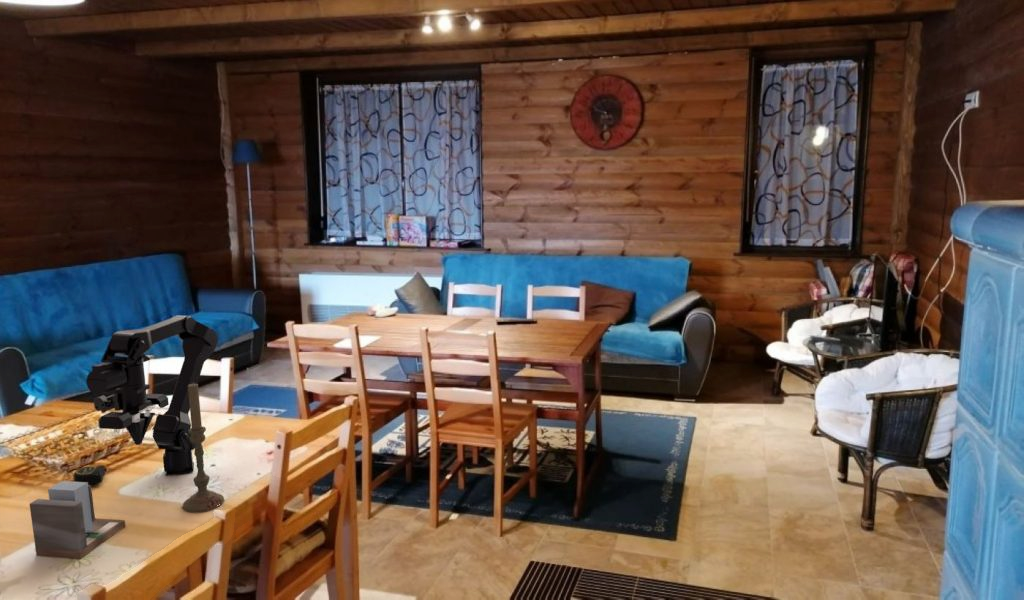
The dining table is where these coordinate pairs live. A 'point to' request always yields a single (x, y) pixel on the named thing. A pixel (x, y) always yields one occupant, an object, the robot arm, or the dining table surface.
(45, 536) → the base
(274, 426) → the dining table surface
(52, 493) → the block
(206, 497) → the candlestick holder
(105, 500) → the dining table surface
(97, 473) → the tape measure
